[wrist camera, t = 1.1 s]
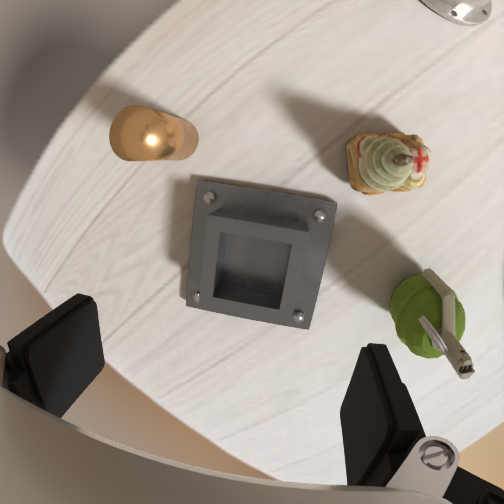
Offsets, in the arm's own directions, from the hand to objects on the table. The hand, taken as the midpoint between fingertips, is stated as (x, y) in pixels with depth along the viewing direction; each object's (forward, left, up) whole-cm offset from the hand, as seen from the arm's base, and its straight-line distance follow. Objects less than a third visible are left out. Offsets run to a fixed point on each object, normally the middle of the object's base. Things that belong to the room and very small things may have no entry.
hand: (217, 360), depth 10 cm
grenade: (+5, +17, -24) cm, 29 cm away
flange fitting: (+4, -1, -23) cm, 24 cm away
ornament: (-8, +10, -24) cm, 27 cm away
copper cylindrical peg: (-7, -11, -23) cm, 27 cm away
